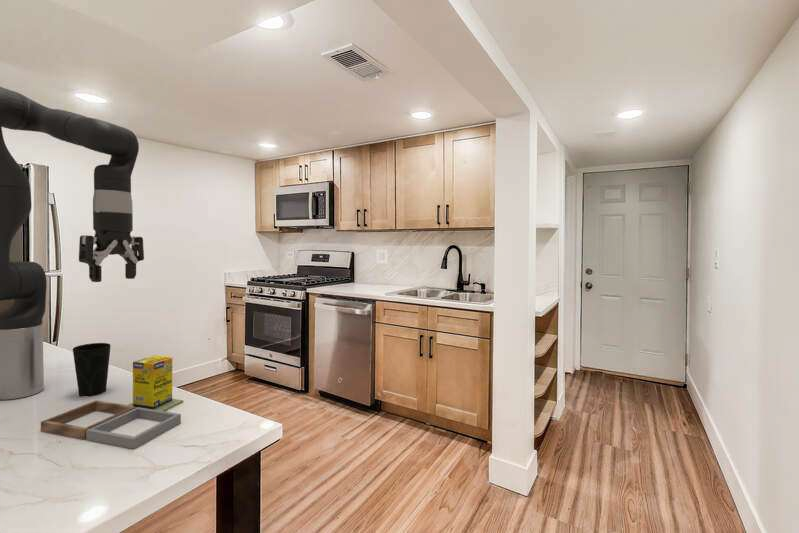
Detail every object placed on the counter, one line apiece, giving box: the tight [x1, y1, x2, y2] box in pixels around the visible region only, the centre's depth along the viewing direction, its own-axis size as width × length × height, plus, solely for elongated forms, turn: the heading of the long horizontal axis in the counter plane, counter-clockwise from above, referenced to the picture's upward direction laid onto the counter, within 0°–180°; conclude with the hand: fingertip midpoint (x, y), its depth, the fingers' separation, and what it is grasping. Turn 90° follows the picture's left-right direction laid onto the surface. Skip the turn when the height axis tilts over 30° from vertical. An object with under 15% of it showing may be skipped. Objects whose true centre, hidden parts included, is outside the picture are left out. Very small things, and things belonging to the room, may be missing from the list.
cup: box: [72, 342, 112, 397], centre depth 102 cm, size 8×8×12 cm
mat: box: [127, 398, 184, 412], centre depth 95 cm, size 10×8×1 cm
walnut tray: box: [40, 400, 136, 441], centre depth 85 cm, size 12×12×2 cm
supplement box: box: [132, 354, 173, 409], centre depth 95 cm, size 6×6×11 cm
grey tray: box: [85, 407, 182, 450], centre depth 83 cm, size 12×12×2 cm
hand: (113, 280), depth 93 cm, fingers open, 8 cm apart
